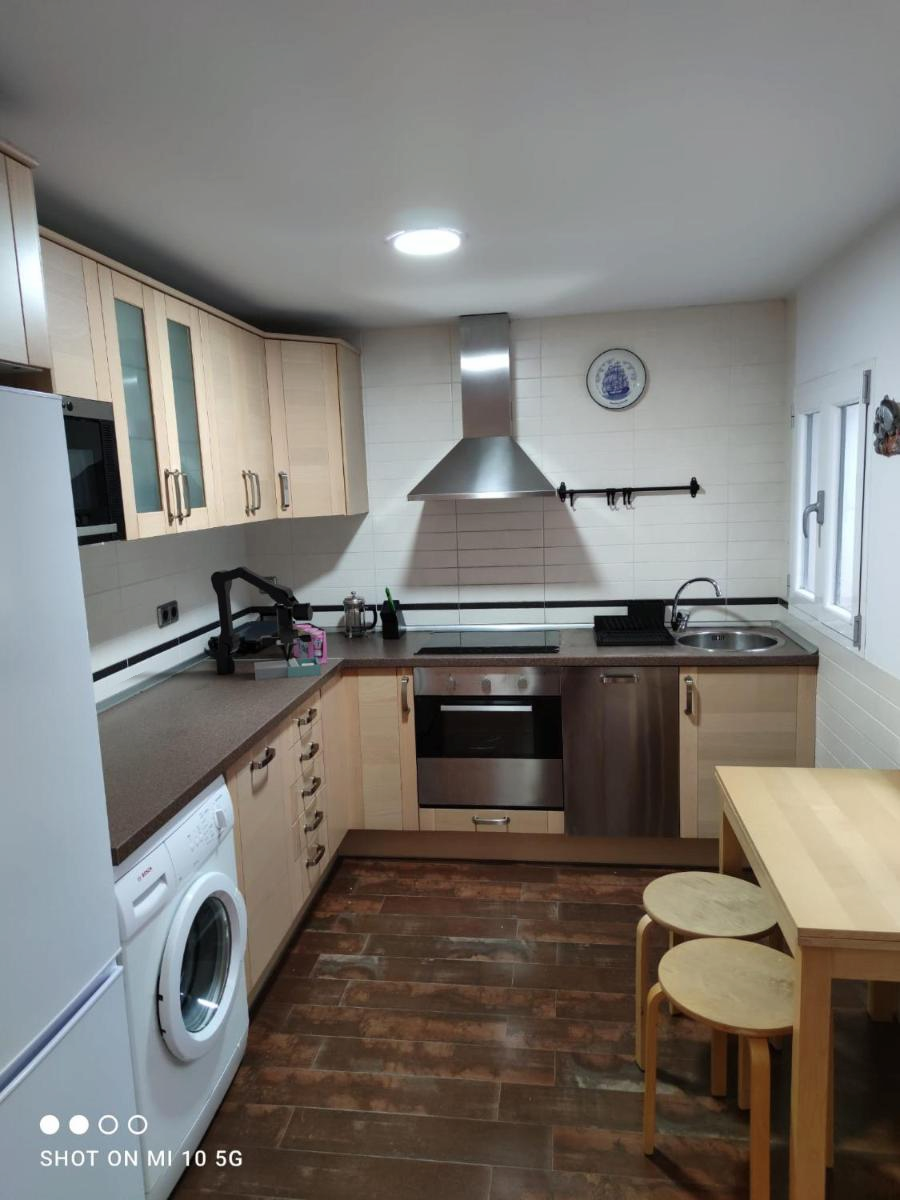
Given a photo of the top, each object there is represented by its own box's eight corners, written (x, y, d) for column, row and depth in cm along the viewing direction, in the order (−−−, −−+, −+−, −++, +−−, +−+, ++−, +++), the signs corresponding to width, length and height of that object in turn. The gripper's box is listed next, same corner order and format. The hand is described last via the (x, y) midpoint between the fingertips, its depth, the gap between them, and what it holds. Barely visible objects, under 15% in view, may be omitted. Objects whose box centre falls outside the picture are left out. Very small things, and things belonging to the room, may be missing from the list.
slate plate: (255, 679, 290) (254, 669, 289) (254, 672, 301) (254, 662, 301) (288, 677, 293) (287, 666, 292) (286, 670, 304) (286, 660, 304)
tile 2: (314, 665, 298) (314, 671, 298) (313, 663, 302) (313, 669, 303) (302, 666, 297) (302, 672, 297) (301, 663, 301) (302, 670, 302)
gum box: (329, 664, 314) (327, 630, 312) (310, 666, 310) (308, 632, 308) (311, 653, 335) (309, 622, 333) (293, 655, 331) (291, 624, 329)
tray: (288, 677, 292) (287, 667, 291) (286, 669, 305) (285, 659, 305) (320, 675, 295) (320, 664, 294) (317, 667, 308) (317, 657, 308)
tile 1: (289, 662, 296) (295, 659, 296) (288, 660, 300) (294, 657, 301) (294, 673, 297) (300, 670, 297) (293, 670, 301) (299, 667, 302)
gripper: (260, 626, 286) (262, 667, 288) (311, 622, 290) (313, 663, 292) (259, 621, 296) (262, 661, 298) (309, 617, 301) (311, 657, 303)
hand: (287, 661), depth 298 cm, fingers closed
